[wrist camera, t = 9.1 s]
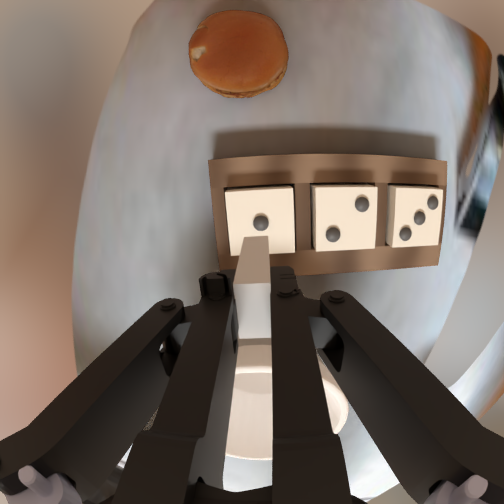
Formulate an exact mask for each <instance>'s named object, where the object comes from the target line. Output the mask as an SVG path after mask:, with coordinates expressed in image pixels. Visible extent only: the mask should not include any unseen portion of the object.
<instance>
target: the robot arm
mask: <svg viewBox="0 0 504 504" xmlns="http://www.w3.org/2000/svg"><path fill="white" fill-rule="evenodd" d="M199 284H200V290H201V296H202V297H201V300H200V302H199V304H196V305H192V306H187V307H184V305H183V302H182V301H181V300H179V299H176V298H168V299H164V300H161V301H159V302H157V303H156V304H155V305H154V306H152V307H151V308H150V309H149V310H148V311H147V312H146V313H145V314H144V315H143V316H141V317H140V318H139V319H138V320H137V321H136V322H135V323H134V324H133V325H132V326H131V327H130V328H128V329H127V330H126V331H125V332H124V333H123V334H122V335H121V336H120V337H119V338H118V339H117V340H116V341H114V342H113V343H112V344H111V345H110V346H109V347H108V348H107V349H106V350H105V351H104V352H103V353H102V354H101V355H100V356H99V357H97V358H96V359H95V360H94V361H93V362H92V363H91V364H90V365H89V366H88V367H87V368H86V369H85V370H84V371H83V372H82V373H81V374H80V375H79V376H78V377H77V378H76V379H75V380H73V382H71V383H70V384H69V385H68V386H67V387H66V388H65V389H64V390H63V391H62V392H61V393H60V394H59V395H58V396H57V397H56V398H55V399H54V400H53V401H52V402H51V403H50V404H49V405H48V406H47V407H46V408H45V409H44V410H43V411H42V412H41V413H40V414H39V415H38V416H37V417H36V418H35V419H34V420H33V421H32V422H31V423H30V424H29V425H28V426H27V427H26V428H24V429H22V430H20V431H18V432H16V433H15V434H12V435H11V436H9V437H7V438H5V439H3V440H1V441H0V491H1V492H3V493H4V495H5V496H6V498H7V501H8V503H9V504H367V503H366V502H364V501H363V500H361V499H359V498H357V497H355V496H353V495H351V493H350V487H349V481H348V476H347V470H346V465H345V459H344V454H343V449H342V444H341V441H340V437H339V436H338V434H334V432H333V430H332V425H331V420H330V415H329V410H328V405H327V400H326V395H325V390H324V385H323V381H322V376H321V371H320V367H319V362H318V358H317V353H316V349H315V348H317V351H318V354H319V355H320V357H321V359H322V360H323V362H324V363H325V365H326V366H327V368H328V370H329V371H330V373H331V374H332V376H333V377H334V379H335V381H336V382H337V384H338V385H339V387H340V389H341V390H342V392H343V393H344V395H345V396H346V398H347V400H348V401H349V403H350V404H351V406H352V407H353V409H354V411H355V412H356V414H357V415H358V417H359V419H360V420H361V422H362V423H363V425H364V426H365V428H366V430H367V431H368V433H369V434H370V436H371V438H372V439H373V441H374V442H375V444H376V445H377V447H378V449H379V450H380V452H381V453H382V455H383V457H384V458H385V460H386V461H387V463H388V465H389V466H390V468H391V469H392V471H393V472H394V474H395V476H396V477H397V479H398V480H399V482H400V483H401V485H402V486H403V488H404V489H405V490H406V492H407V493H408V494H409V495H410V496H411V497H412V498H413V499H414V500H415V501H416V502H417V503H418V504H504V438H503V437H501V436H499V435H498V434H496V433H494V432H492V431H490V430H488V429H486V428H485V427H483V426H482V425H481V424H480V423H479V422H478V421H477V420H476V418H475V417H474V416H473V415H472V414H471V413H470V412H469V411H468V410H467V409H466V408H465V407H464V406H463V405H462V403H461V402H460V401H459V400H458V399H457V398H456V397H455V396H454V395H453V394H452V393H451V392H450V391H449V390H448V389H447V388H446V387H445V386H444V385H443V384H442V383H441V382H440V381H439V380H438V379H437V378H436V377H435V376H434V375H433V374H432V373H431V372H430V371H429V370H428V369H427V368H426V367H425V366H424V365H423V364H422V363H421V362H420V361H419V360H418V359H417V358H416V357H415V356H414V355H413V354H412V353H411V352H410V351H409V350H408V349H407V348H406V347H405V346H404V345H403V344H402V343H401V342H400V341H399V340H398V339H397V338H396V337H395V336H394V335H393V334H392V333H391V332H390V331H389V330H388V329H387V328H386V327H385V326H383V325H382V324H381V323H380V322H379V321H378V320H377V319H376V318H375V317H374V316H373V315H372V314H371V313H370V312H369V311H368V310H367V309H365V308H364V307H363V306H362V305H361V304H360V303H359V302H358V301H357V300H356V299H355V298H354V297H353V296H351V295H350V294H348V293H347V292H343V291H340V290H334V291H328V292H325V293H324V294H322V295H321V298H320V300H313V299H308V298H305V297H304V296H303V294H302V292H301V290H300V289H298V285H297V281H296V277H295V273H294V269H293V268H291V267H290V266H273V267H270V261H269V242H268V236H252V237H244V239H243V243H242V247H241V252H240V256H239V260H238V265H237V269H226V270H221V271H220V272H213V273H208V274H205V275H203V276H201V277H200V278H199ZM238 333H239V339H246V338H271V351H272V410H273V440H272V486H267V487H263V488H258V489H253V490H248V491H242V492H230V491H226V490H223V469H224V460H225V452H226V444H227V436H228V428H229V420H230V411H231V403H232V395H233V387H234V379H235V371H236V363H237V355H238V347H239V344H238ZM161 344H163V348H162V349H161V350H159V349H160V346H161ZM158 407H159V409H158V412H157V414H156V417H155V420H154V423H153V426H152V428H151V429H150V430H149V431H144V430H143V428H144V427H145V425H146V424H147V423H148V421H149V420H150V418H151V417H152V416H153V414H154V413H155V411H156V410H157V408H158ZM132 444H133V445H132ZM131 445H132V448H131V450H130V453H129V456H128V458H127V461H126V464H125V466H124V468H122V467H120V466H118V465H117V464H118V463H119V462H120V460H121V459H122V458H123V456H124V455H125V453H126V452H127V451H128V449H129V448H130V446H131Z"/></svg>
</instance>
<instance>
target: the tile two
mask: <svg viewBox="0 0 504 504" xmlns="http://www.w3.org/2000/svg"><path fill="white" fill-rule="evenodd" d="M377 188H378V187H375V186H372V185H370V184H367V183H310V216H311V242H312V244H313V246H314V249H315V251H316V252H319V251H338V250H357V249H375V238H376V221H377Z"/></svg>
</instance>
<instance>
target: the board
mask: <svg viewBox="0 0 504 504" xmlns="http://www.w3.org/2000/svg"><path fill="white" fill-rule="evenodd" d="M208 165H209V176H210V186H211V196H212V206H213V216H214V225H215V234H216V243H217V251H218V260H219V268H220V271H221V270H226V269H237V265H238V260H239V256H240V255H237V256H231V251H230V242H229V232H228V221H227V211H226V200H225V192H226V191H227V187H236V186H250V185H267V184H288V183H292V188H293V200H294V231H295V253H278V254H269V261H270V267H273V266H290V267H291V268H293V269H294V273H295V276H299V275H317V274H333V273H348V272H362V271H376V270H388V269H401V268H412V267H424V266H435V265H438V262H439V256H440V250H441V243H442V235H443V227H444V217H445V205H446V188H447V161H441V160H433V159H424V158H413V157H401V156H386V155H366V154H285V155H264V156H248V157H235V158H224V159H214V160H208ZM322 182H367V184H370V185H372V186H375V187H378V188H377V221H376V238H375V249H357V250H338V251H319V252H316V251H315V249H314V246H313V244H312V242H311V216H310V183H322ZM388 183H409V184H428V185H429V186H432V187H436V188H439V189H442V190H443V201H442V214H441V224H440V233H439V241H438V245H431V246H413V247H394V248H392V247H391V246H390V245H389V244H387V243H386V242H385V234H386V218H387V191H388Z"/></svg>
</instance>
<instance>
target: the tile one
mask: <svg viewBox="0 0 504 504" xmlns="http://www.w3.org/2000/svg"><path fill="white" fill-rule="evenodd" d="M225 200H226V211H227V221H228V232H229V242H230V251H231V256H237V255H240V252H241V247H242V243H243V239H244V237H252V236H268V242H269V254H278V253H295V231H294V200H293V188H292V186H291V185H290V184H278V185H259V186H244V187H230V188H229V189H228V190H227V191H226V192H225Z"/></svg>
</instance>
